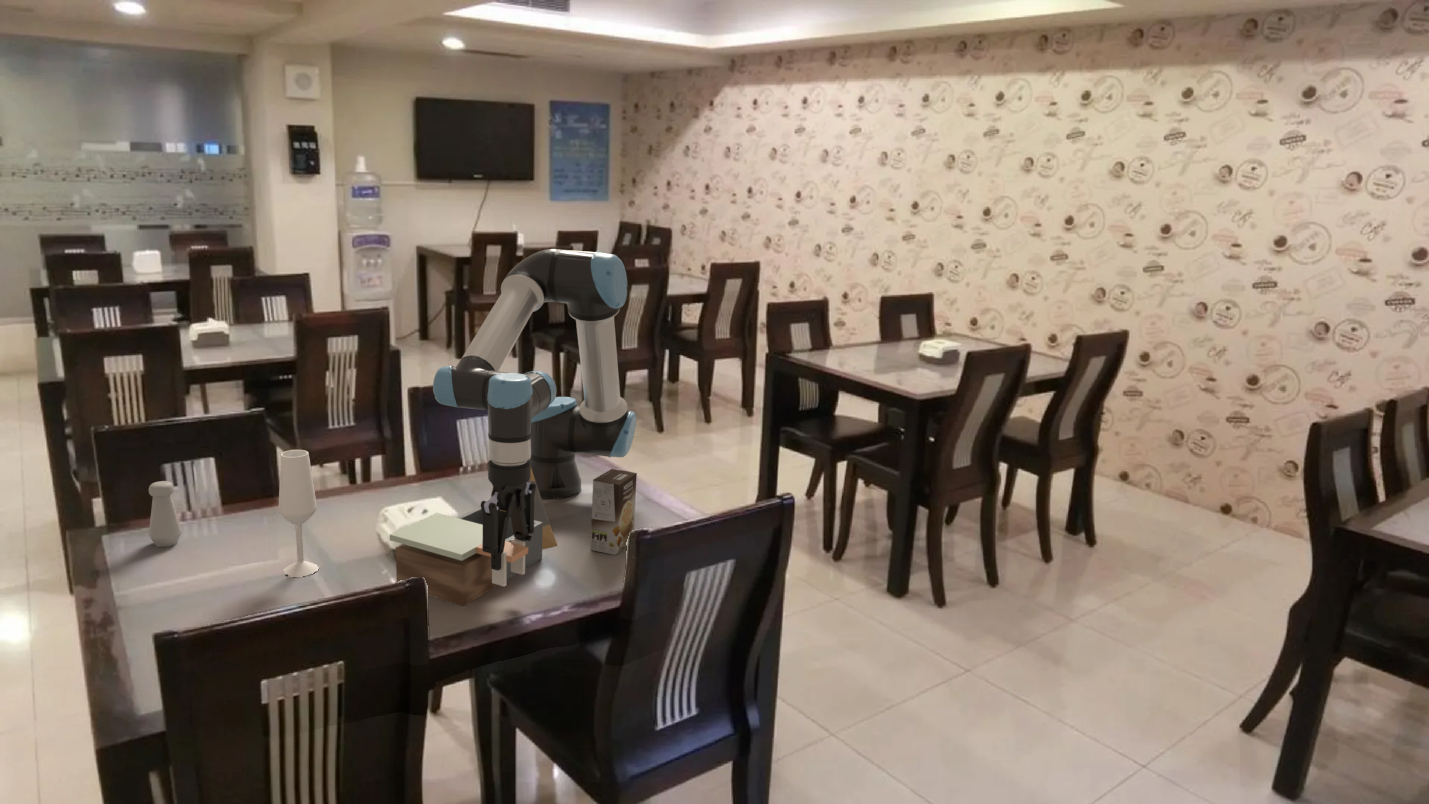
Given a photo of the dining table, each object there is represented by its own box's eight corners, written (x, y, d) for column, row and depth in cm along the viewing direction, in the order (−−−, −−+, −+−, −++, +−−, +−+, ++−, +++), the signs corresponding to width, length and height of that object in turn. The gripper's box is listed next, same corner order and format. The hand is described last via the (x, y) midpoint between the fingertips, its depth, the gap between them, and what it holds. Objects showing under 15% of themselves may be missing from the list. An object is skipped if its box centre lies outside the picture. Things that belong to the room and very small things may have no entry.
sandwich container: (522, 554, 193) (523, 487, 189) (493, 529, 204) (493, 465, 201) (559, 546, 198) (560, 481, 194) (528, 522, 209) (529, 460, 206)
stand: (435, 564, 185) (435, 528, 183) (500, 583, 179) (500, 545, 177) (396, 585, 175) (395, 546, 173) (463, 606, 169) (463, 566, 167)
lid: (436, 518, 183) (436, 512, 183) (540, 545, 174) (540, 539, 174) (389, 540, 172) (389, 534, 172) (498, 570, 162) (498, 564, 162)
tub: (480, 541, 197) (480, 506, 195) (542, 558, 191) (542, 522, 189) (442, 561, 187) (442, 524, 185) (506, 579, 180) (507, 542, 178)
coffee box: (616, 556, 194) (619, 485, 190) (589, 550, 196) (591, 479, 192) (634, 540, 203) (637, 472, 199) (608, 535, 205) (610, 467, 201)
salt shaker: (189, 541, 188) (184, 482, 185) (162, 551, 183) (156, 490, 180) (170, 535, 190) (164, 476, 187) (143, 544, 185) (137, 484, 182)
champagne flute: (278, 567, 179) (271, 451, 173) (314, 560, 183) (308, 446, 177) (287, 580, 174) (279, 461, 168) (324, 572, 178) (318, 456, 172)
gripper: (522, 443, 174) (521, 556, 180) (459, 469, 158) (460, 592, 164) (555, 450, 171) (553, 565, 177) (495, 477, 155) (494, 602, 161)
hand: (508, 577), depth 170 cm, fingers closed on lid, 5 cm apart
